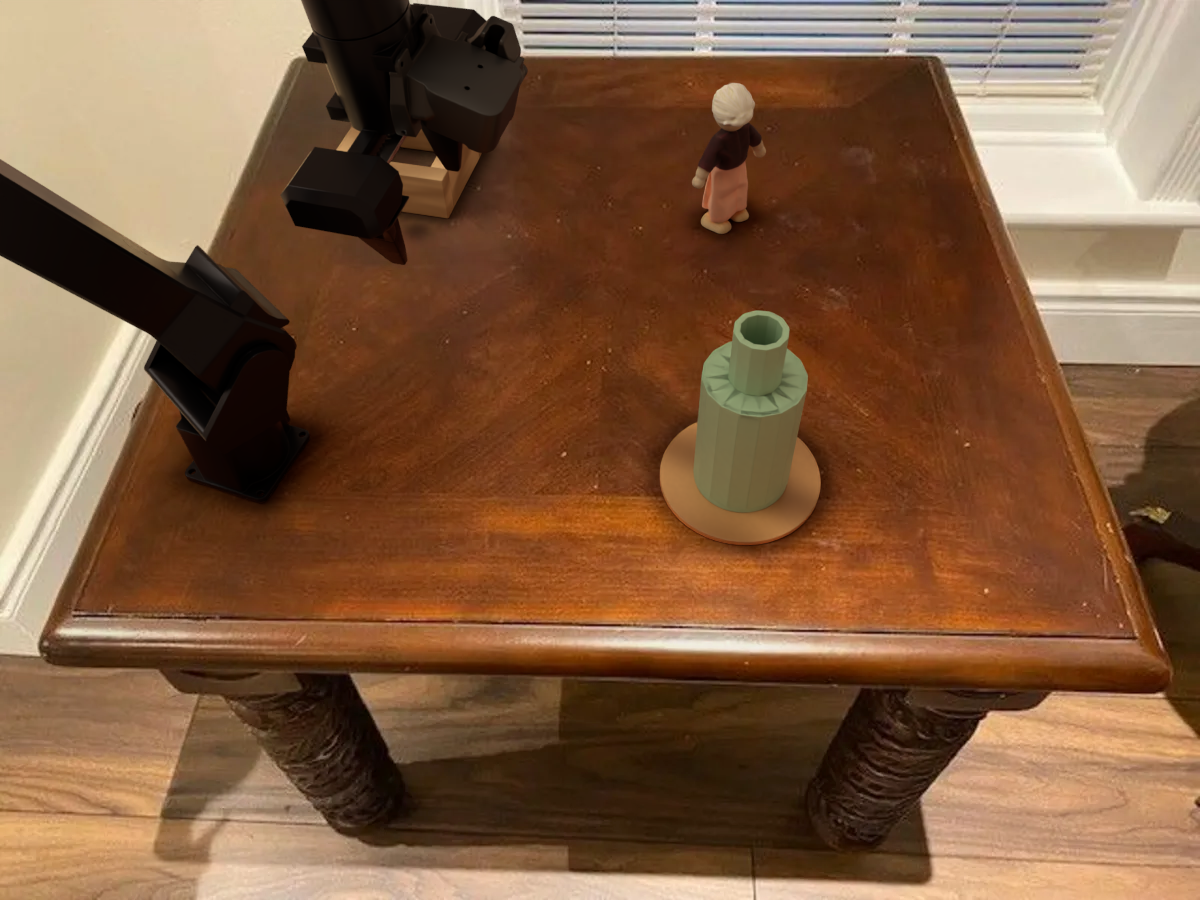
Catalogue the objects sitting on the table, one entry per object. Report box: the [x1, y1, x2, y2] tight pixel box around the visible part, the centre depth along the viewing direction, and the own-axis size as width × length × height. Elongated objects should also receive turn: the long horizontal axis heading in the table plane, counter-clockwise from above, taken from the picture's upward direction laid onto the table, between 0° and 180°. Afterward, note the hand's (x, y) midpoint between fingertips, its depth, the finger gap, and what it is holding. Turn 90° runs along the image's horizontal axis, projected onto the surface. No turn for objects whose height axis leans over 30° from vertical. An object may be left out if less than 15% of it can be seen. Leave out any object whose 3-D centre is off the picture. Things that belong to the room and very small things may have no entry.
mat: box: [659, 421, 822, 546], centre depth 71 cm, size 11×11×1 cm
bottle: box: [693, 309, 809, 513], centre depth 65 cm, size 6×6×14 cm
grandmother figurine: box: [691, 82, 767, 235], centre depth 83 cm, size 8×4×13 cm, turn 141°
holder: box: [336, 126, 483, 219], centre depth 92 cm, size 10×10×4 cm
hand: (427, 214), depth 71 cm, fingers open, 9 cm apart
